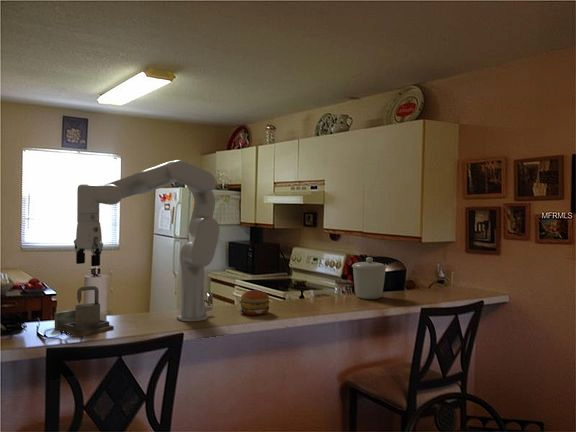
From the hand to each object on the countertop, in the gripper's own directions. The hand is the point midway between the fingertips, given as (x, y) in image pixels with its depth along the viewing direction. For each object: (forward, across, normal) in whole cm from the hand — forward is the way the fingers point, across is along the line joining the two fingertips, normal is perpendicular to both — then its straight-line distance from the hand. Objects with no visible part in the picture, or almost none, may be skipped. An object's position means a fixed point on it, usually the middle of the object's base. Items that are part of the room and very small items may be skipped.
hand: (88, 264), depth 182 cm
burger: (+25, -28, -62) cm, 72 cm away
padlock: (+23, 0, 0) cm, 23 cm away
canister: (+25, -49, -129) cm, 140 cm away
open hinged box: (+24, +2, 0) cm, 24 cm away
